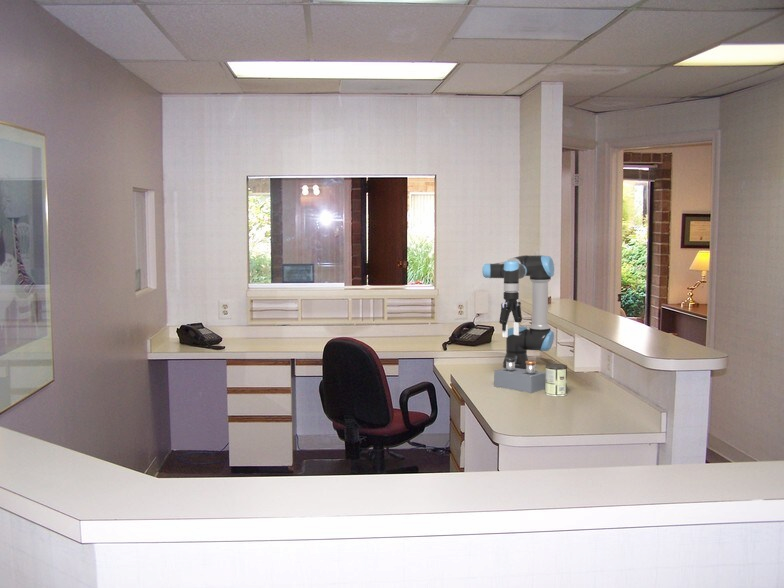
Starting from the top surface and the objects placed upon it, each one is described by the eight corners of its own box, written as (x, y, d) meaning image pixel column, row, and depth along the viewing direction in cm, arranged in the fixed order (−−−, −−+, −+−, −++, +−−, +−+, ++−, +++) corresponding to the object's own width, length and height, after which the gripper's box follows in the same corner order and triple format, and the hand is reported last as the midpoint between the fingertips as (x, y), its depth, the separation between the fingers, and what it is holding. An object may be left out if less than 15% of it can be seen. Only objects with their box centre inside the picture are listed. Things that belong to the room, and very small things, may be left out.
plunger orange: (529, 376, 358) (529, 360, 357) (537, 378, 354) (538, 361, 354) (523, 378, 354) (523, 361, 353) (532, 379, 351) (532, 362, 350)
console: (510, 382, 371) (510, 367, 371) (546, 388, 356) (546, 372, 356) (494, 386, 361) (494, 370, 361) (531, 393, 346) (531, 376, 346)
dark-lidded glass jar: (509, 373, 366) (509, 357, 365) (517, 374, 363) (517, 358, 362) (503, 375, 362) (503, 358, 362) (511, 376, 359) (511, 359, 358)
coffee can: (551, 390, 351) (552, 362, 350) (570, 394, 344) (571, 365, 343) (540, 394, 343) (541, 365, 342) (559, 397, 336) (560, 368, 335)
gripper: (517, 290, 369) (516, 333, 371) (492, 292, 354) (491, 337, 356) (529, 290, 364) (529, 334, 366) (504, 293, 349) (504, 339, 350)
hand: (510, 336), depth 361 cm, fingers open, 9 cm apart
